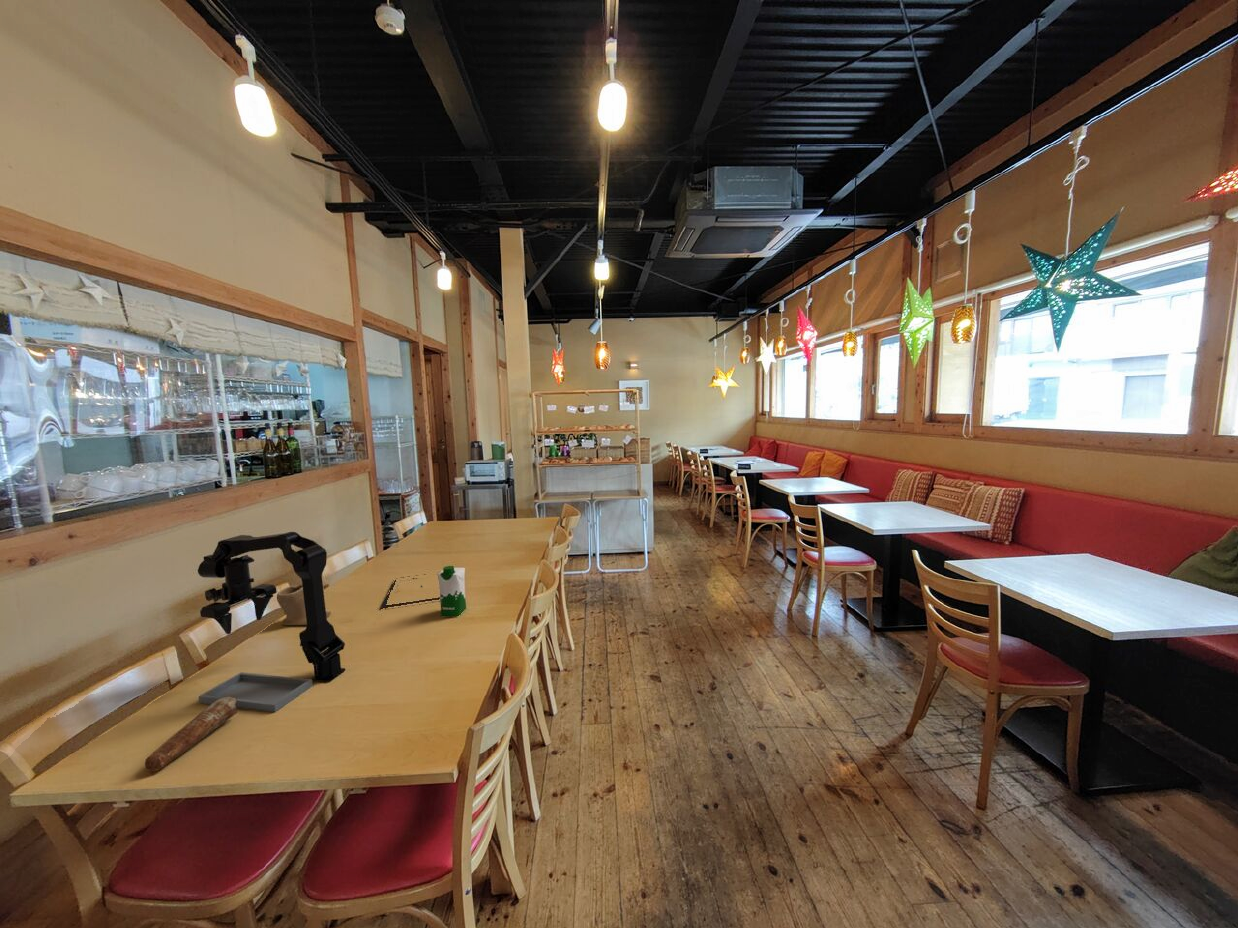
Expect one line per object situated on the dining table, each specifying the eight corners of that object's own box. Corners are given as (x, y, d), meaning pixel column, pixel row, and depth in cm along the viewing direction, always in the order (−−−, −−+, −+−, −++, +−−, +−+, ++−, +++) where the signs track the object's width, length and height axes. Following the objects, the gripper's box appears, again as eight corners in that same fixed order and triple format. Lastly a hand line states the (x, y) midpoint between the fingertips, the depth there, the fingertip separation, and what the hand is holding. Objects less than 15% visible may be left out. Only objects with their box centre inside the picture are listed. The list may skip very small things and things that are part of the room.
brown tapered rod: (240, 716, 117) (240, 697, 116) (158, 777, 98) (158, 756, 97) (218, 710, 118) (219, 691, 117) (133, 770, 99) (132, 749, 98)
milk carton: (438, 619, 172) (434, 569, 170) (449, 609, 181) (446, 561, 179) (459, 620, 171) (456, 569, 169) (469, 609, 180) (466, 561, 178)
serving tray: (312, 687, 130) (311, 679, 130) (275, 713, 119) (274, 704, 119) (242, 679, 135) (241, 672, 134) (199, 704, 123) (198, 696, 123)
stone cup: (271, 629, 167) (267, 591, 165) (298, 615, 179) (294, 579, 177) (307, 631, 165) (303, 592, 163) (332, 617, 177) (329, 580, 175)
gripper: (247, 566, 146) (252, 611, 148) (181, 588, 128) (189, 639, 130) (275, 567, 144) (280, 613, 146) (212, 590, 126) (219, 642, 127)
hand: (244, 626), depth 137 cm, fingers open, 9 cm apart
